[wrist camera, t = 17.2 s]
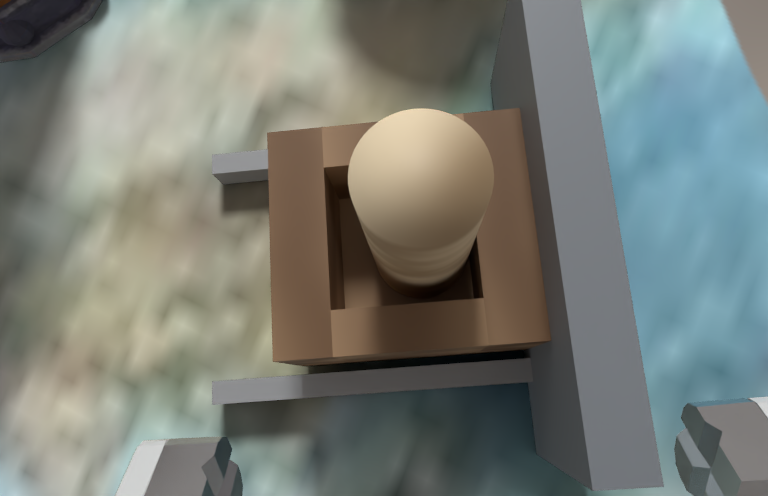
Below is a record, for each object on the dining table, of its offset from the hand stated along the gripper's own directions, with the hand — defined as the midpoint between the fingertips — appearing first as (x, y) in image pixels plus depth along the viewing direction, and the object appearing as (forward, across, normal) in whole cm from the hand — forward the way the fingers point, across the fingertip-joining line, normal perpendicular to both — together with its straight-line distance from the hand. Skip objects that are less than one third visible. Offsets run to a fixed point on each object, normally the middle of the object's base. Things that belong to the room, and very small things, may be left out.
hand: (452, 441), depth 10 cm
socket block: (+16, +1, +7) cm, 17 cm away
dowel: (+15, 0, +5) cm, 15 cm away
